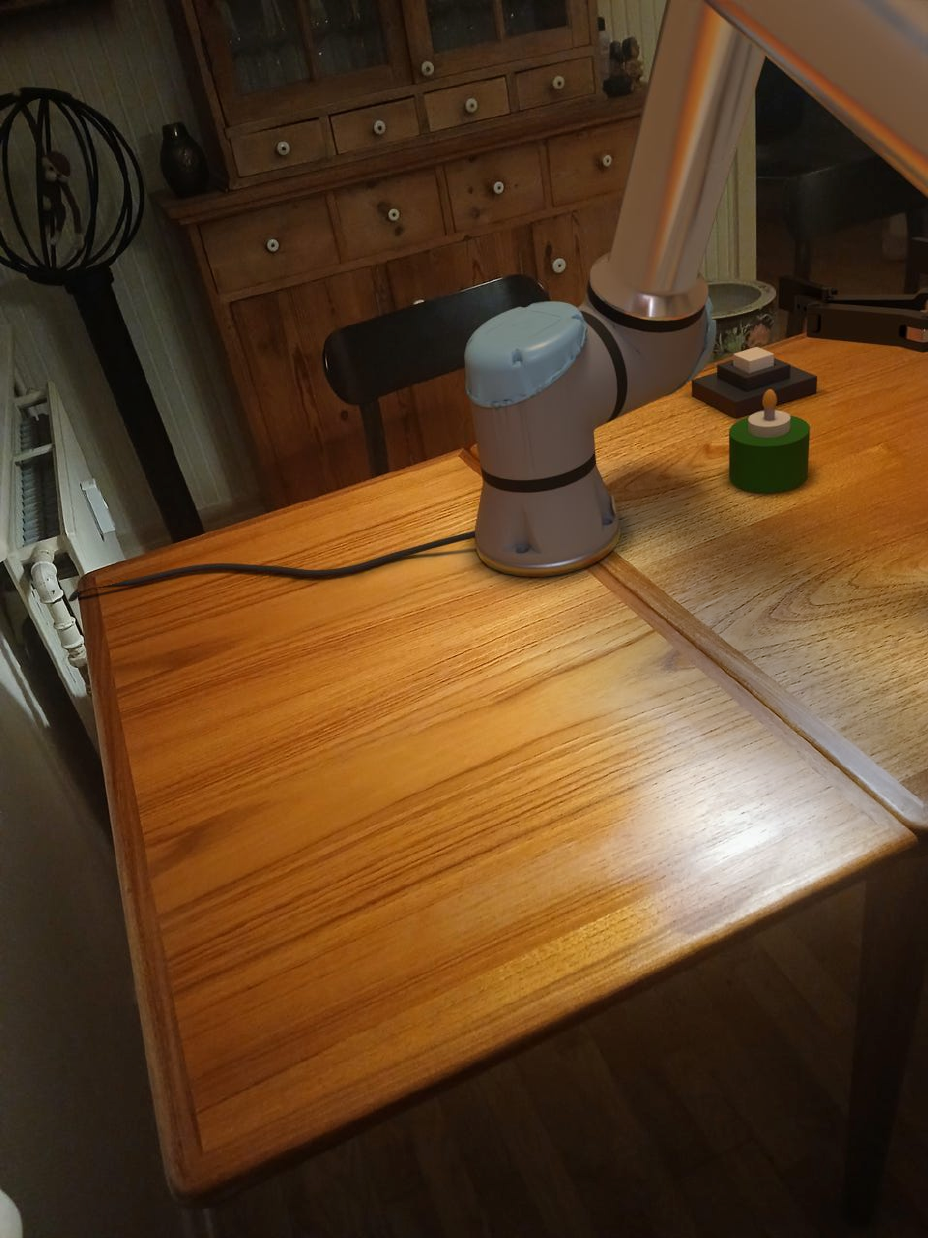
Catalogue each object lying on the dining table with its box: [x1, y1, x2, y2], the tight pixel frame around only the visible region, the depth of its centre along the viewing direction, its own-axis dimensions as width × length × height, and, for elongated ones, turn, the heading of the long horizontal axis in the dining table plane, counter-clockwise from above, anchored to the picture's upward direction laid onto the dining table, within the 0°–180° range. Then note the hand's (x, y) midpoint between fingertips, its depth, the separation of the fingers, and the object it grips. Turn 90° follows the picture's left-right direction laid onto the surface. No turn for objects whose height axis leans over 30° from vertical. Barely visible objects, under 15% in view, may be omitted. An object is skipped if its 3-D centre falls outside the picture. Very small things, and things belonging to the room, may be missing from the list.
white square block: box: [732, 346, 775, 373], centre depth 121 cm, size 4×4×2 cm
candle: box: [728, 389, 811, 494], centre depth 102 cm, size 8×8×10 cm
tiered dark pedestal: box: [691, 357, 818, 419], centre depth 122 cm, size 12×10×4 cm
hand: (848, 271), depth 83 cm, fingers open, 13 cm apart
